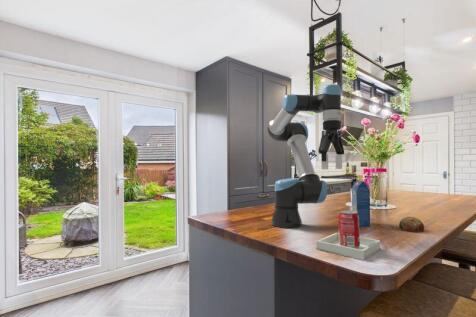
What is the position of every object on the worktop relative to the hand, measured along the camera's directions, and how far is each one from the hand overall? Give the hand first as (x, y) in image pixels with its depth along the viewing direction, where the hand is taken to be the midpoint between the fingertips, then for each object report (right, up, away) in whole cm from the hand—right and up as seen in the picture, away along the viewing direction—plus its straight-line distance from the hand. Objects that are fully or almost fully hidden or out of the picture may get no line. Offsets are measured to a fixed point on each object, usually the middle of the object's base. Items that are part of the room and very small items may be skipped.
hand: (332, 169), depth 122 cm
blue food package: (+22, -29, +20) cm, 42 cm away
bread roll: (+40, -29, +8) cm, 50 cm away
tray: (-1, -28, -20) cm, 35 cm away
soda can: (0, -28, -19) cm, 34 cm away
